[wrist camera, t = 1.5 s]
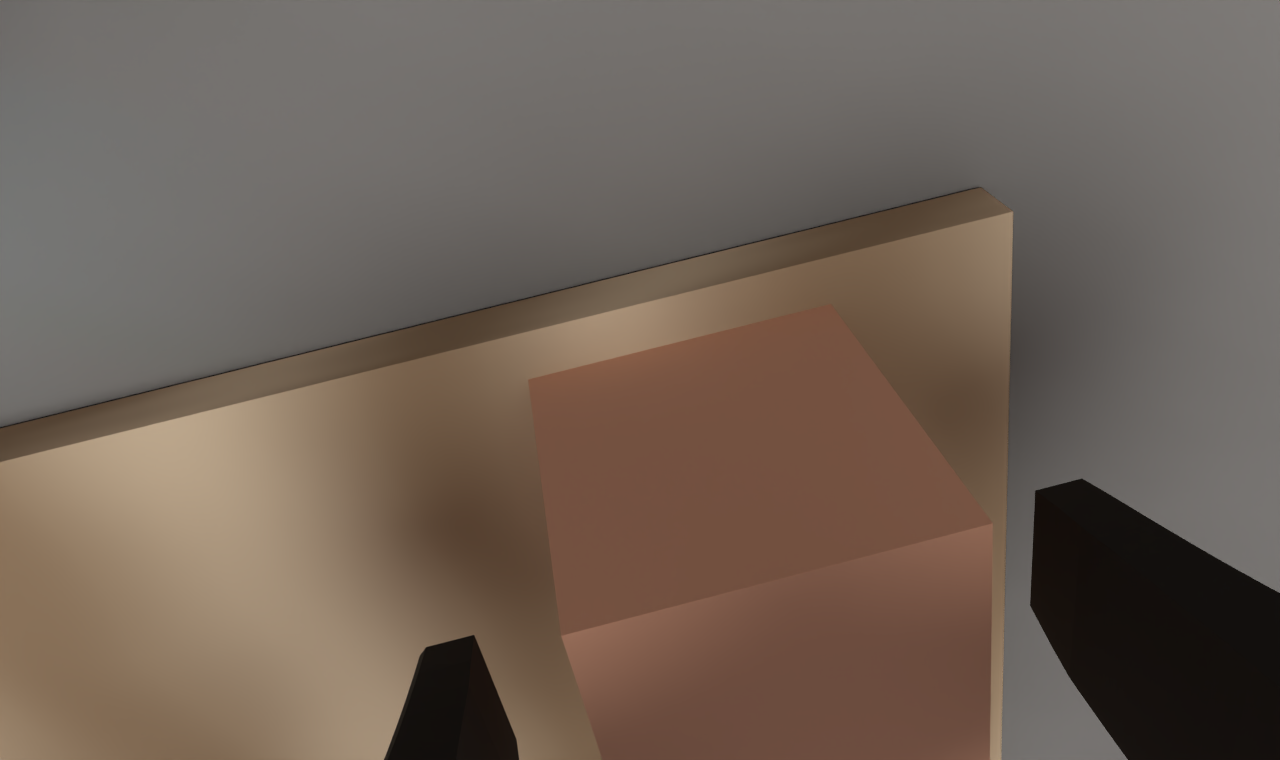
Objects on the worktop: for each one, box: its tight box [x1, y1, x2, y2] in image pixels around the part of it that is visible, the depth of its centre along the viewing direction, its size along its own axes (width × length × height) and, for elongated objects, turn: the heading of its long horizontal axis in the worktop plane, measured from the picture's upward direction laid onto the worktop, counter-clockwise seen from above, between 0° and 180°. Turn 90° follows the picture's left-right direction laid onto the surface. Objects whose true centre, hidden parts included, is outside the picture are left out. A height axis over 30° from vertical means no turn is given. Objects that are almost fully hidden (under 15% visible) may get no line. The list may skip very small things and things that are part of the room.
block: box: [528, 304, 993, 760], centre depth 13 cm, size 4×4×5 cm
